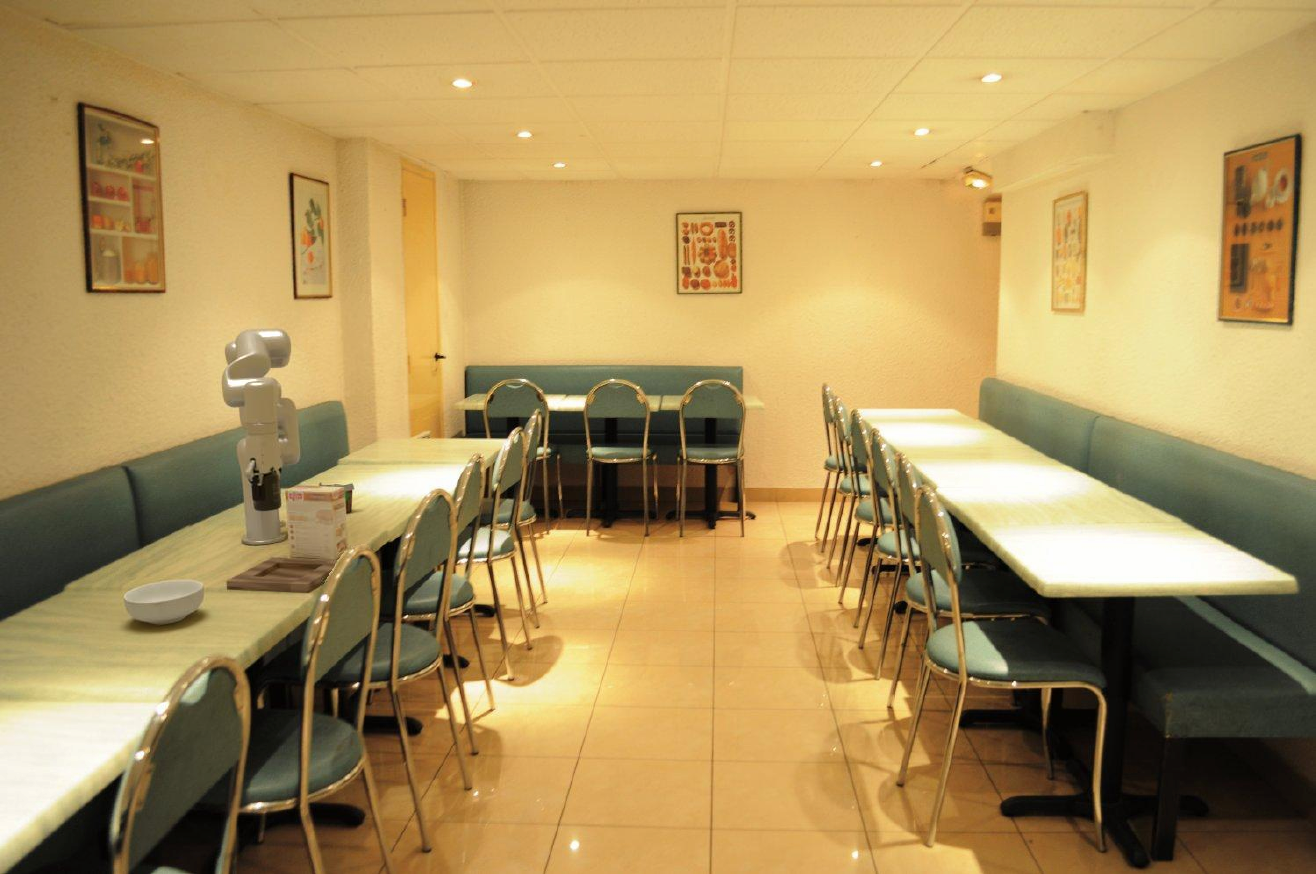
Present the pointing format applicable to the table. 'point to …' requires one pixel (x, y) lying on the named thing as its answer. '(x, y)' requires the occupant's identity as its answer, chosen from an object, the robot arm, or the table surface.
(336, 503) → the coffeecake box
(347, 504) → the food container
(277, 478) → the supplement bottle
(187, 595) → the cereal bowl
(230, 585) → the wooden tray
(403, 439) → the table surface
